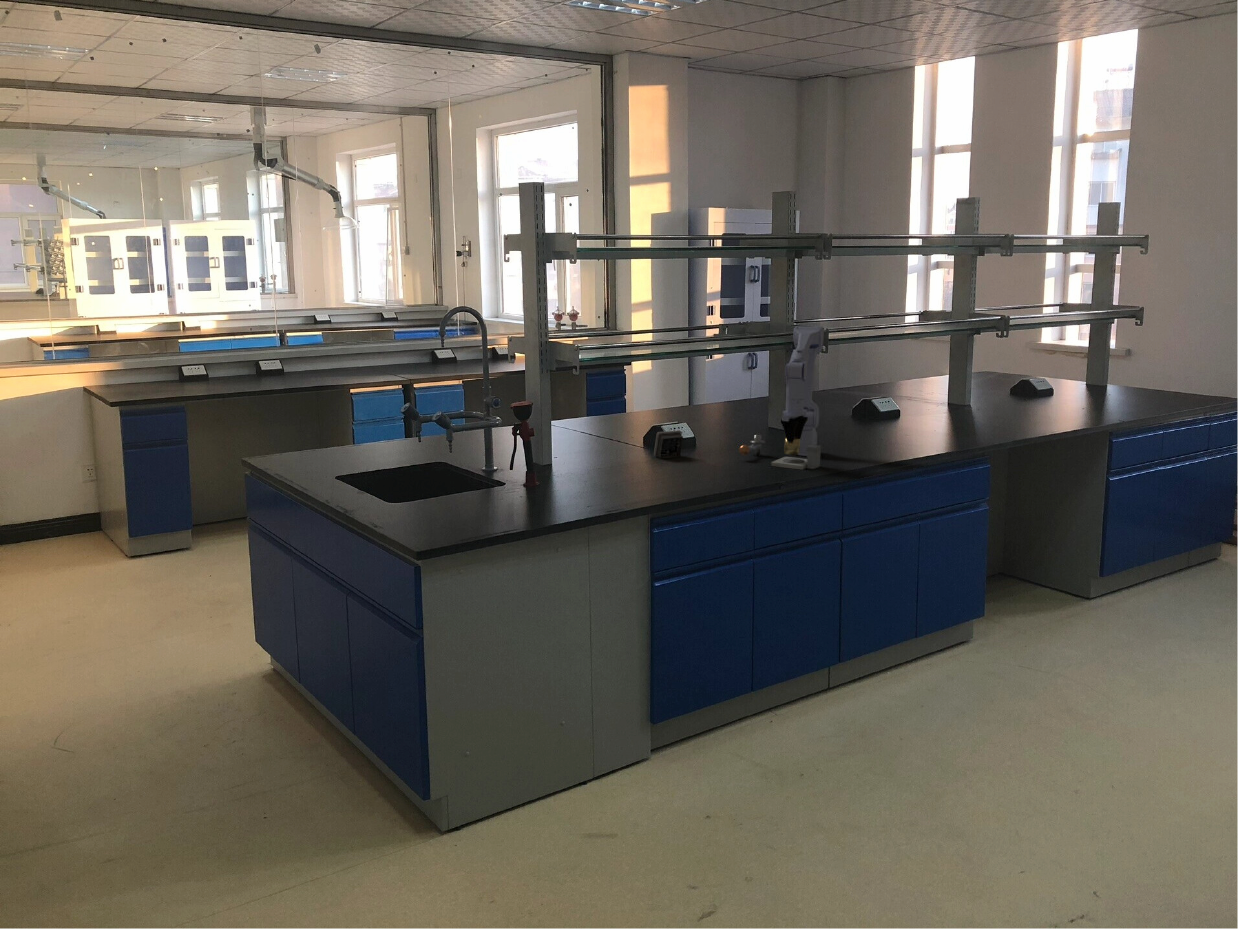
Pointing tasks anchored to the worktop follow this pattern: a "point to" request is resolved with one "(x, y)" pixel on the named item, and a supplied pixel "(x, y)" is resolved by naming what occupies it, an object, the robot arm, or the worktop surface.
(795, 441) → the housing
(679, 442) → the electrical switch
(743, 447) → the lever
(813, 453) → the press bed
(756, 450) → the pivot post
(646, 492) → the worktop surface
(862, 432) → the worktop surface
